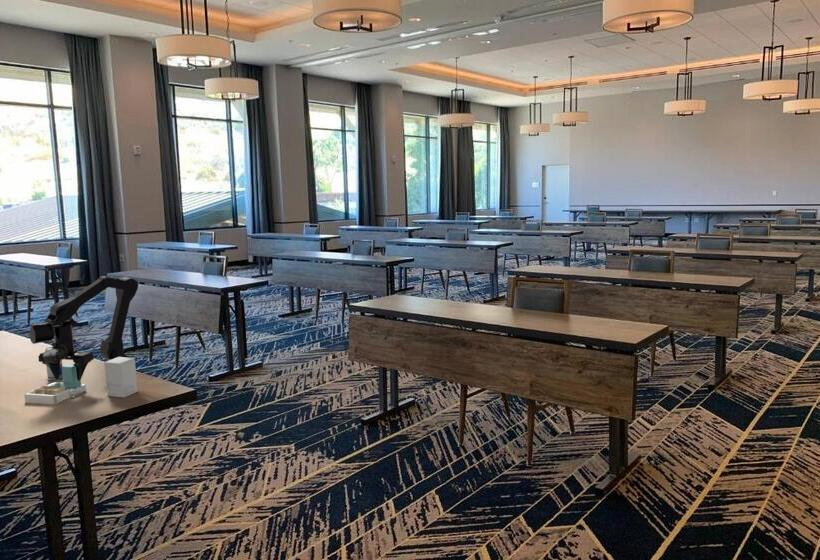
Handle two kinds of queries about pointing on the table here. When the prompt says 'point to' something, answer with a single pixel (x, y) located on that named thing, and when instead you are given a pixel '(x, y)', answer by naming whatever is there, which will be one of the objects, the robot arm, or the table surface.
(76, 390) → the slot rails
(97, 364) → the table surface
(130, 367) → the supplement box
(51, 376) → the energy drink
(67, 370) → the teal boot-shaped block
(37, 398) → the tray
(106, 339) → the robot arm
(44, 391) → the tan cube
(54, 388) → the beige cube
